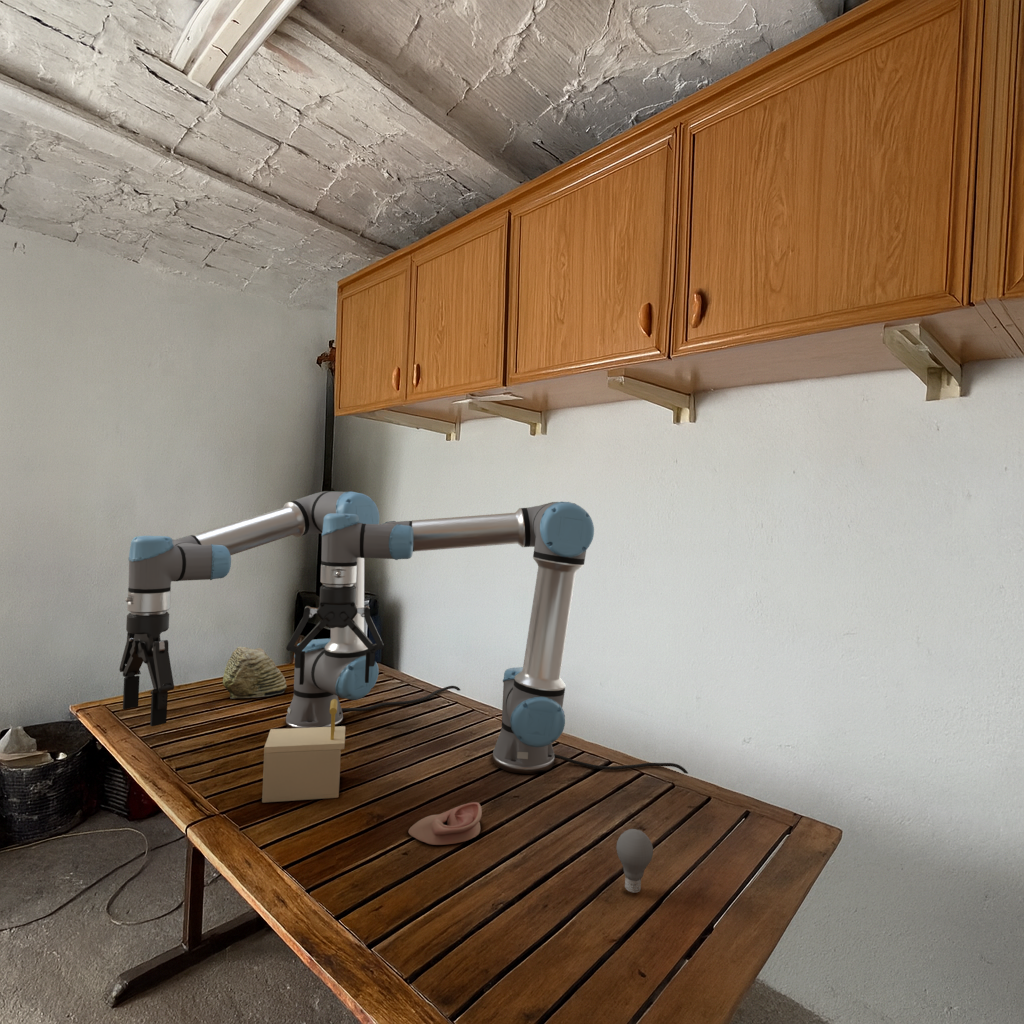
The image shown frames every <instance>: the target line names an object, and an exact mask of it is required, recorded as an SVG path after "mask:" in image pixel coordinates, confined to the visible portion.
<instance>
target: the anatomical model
mask: <svg viewBox="0 0 1024 1024" xmlns="http://www.w3.org/2000/svg"><path fill="white" fill-rule="evenodd" d="M482 814H483V809H482V806H481V804H480V803H479V802H477V801H471V802H467V803H464V804H460V805H458V806H456V807H453V808H451V809H448V810H446V811H443V812H442V813H438V814H431V815H428V816H424V817H423V818H421V819H419V820H418V821H416V822H415V823H413V825H412V826H410V828H409V829H408V830H407V831H408V834H409V836H411V837H412V838H414V839H416V840H418V841H419V842H422V843H425V844H428V845H431V846H443V845H454V844H459V843H463V842H466V841H469V840H472V839H474V838H476V837H477V836H479V834H480V832H481V823H480V821H481V819H482V816H483V815H482Z"/></svg>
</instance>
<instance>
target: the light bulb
mask: <svg viewBox="0 0 1024 1024" xmlns="http://www.w3.org/2000/svg"><path fill="white" fill-rule="evenodd" d="M615 849H616V854H617V857H618V859H619V861H620V863H621V865H622V867H623V873H624V874H623V875H624V876H625V878H624V888H625V890H627V891H628V892H630V893H634V894H635V893H639V892H640V891H641V889H642V887H641V886H642V879H643V877H644V875H645V871H646V868H647V867H648V866H649V864H650V863H651V861H652V859H653V855H654V847H653V843H652V841H651V838H649V836H648V835H647V834H646V833H645V832H643V831H642V830H641V829H636V828H629V829H627V830H625V831H623V832H622V833H621V834H620V835H619V837H618V839H617V841H616V847H615Z"/></svg>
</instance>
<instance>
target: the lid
mask: <svg viewBox="0 0 1024 1024" xmlns="http://www.w3.org/2000/svg"><path fill="white" fill-rule="evenodd" d="M337 705H338V701H337V700H336V699H333V700H331V703H330V714H331V727H313V728H271V729H270V730H269V733H268V736H267V738H266V740H265V743H264V747H263V754H264V753H276V752H296V751H317V750H337V749H341V750H345V747H346V746H345V744H346V726H345V725H341V726H340V725H339V726H337V727H335V714H336V713H337Z"/></svg>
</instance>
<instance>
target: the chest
mask: <svg viewBox="0 0 1024 1024" xmlns="http://www.w3.org/2000/svg"><path fill="white" fill-rule="evenodd" d="M341 752H342V749H337V750H317V751H296V752H276V753H264V752H263V768H262V769H263V772H262V796H261V798H262V799H261V803H277V802H278V803H279V802H291V801H307V800H321V799H323V800H324V799H336V798H339V795H340V781H341V780H340V778H341V754H342V753H341Z"/></svg>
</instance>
